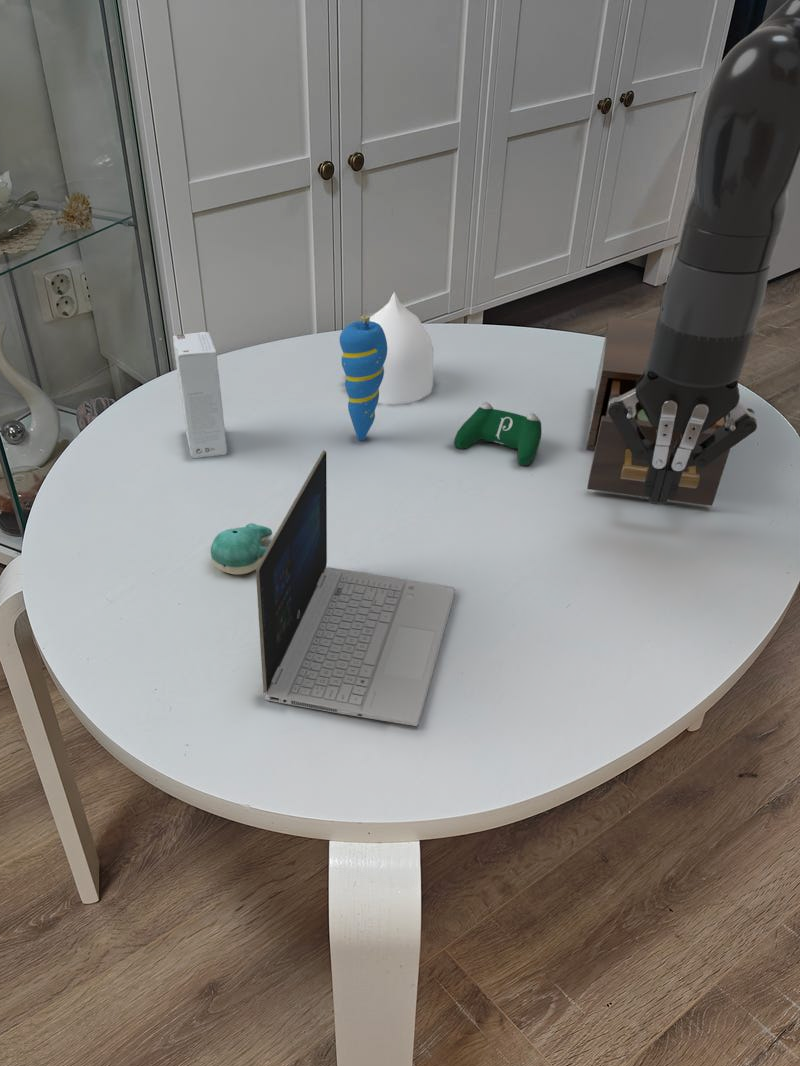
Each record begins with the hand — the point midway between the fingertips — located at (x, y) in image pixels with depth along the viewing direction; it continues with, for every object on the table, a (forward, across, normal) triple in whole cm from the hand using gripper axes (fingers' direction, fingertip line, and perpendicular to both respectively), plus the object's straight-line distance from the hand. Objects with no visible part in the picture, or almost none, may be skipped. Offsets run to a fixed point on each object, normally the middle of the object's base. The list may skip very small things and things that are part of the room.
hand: (657, 499), depth 85 cm
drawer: (+4, 0, +12) cm, 13 cm away
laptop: (+5, -23, -22) cm, 32 cm away
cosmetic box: (+5, -49, +8) cm, 50 cm away
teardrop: (+5, -32, +28) cm, 43 cm away
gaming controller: (+5, -16, +16) cm, 23 cm away
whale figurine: (+5, -37, -12) cm, 40 cm away
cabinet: (+5, 0, +25) cm, 26 cm away
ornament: (+5, -32, +14) cm, 35 cm away
